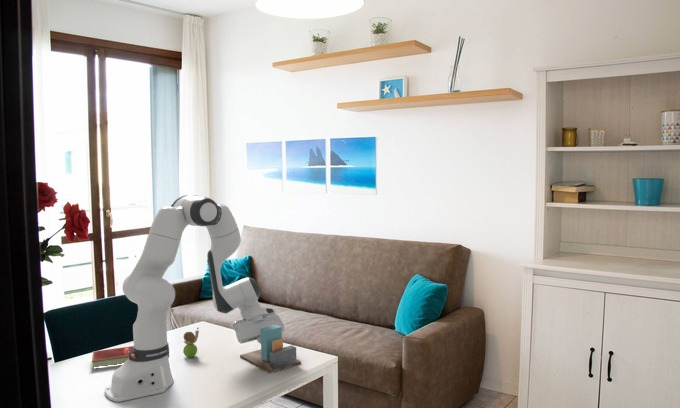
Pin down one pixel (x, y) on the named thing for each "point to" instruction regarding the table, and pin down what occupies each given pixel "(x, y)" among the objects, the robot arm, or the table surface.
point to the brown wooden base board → (263, 361)
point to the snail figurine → (190, 343)
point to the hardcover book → (110, 357)
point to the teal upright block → (269, 340)
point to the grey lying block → (283, 357)
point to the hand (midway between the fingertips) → (267, 346)
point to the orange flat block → (277, 344)
